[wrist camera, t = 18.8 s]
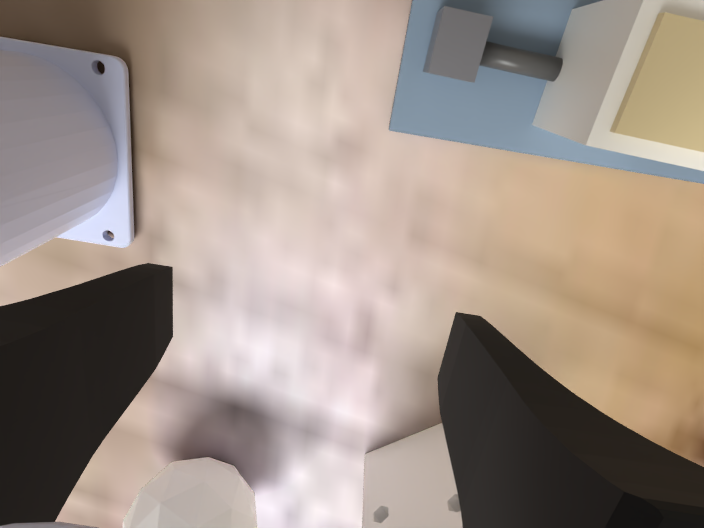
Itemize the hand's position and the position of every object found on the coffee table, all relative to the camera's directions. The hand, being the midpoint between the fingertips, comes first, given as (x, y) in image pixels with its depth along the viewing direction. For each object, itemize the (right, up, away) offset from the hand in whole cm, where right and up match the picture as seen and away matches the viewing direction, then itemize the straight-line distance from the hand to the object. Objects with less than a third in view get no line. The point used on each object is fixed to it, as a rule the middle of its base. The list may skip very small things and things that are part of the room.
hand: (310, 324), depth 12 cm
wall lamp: (+8, +9, +5) cm, 13 cm away
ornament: (-7, -11, +16) cm, 20 cm away
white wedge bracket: (+5, -9, +14) cm, 18 cm away
